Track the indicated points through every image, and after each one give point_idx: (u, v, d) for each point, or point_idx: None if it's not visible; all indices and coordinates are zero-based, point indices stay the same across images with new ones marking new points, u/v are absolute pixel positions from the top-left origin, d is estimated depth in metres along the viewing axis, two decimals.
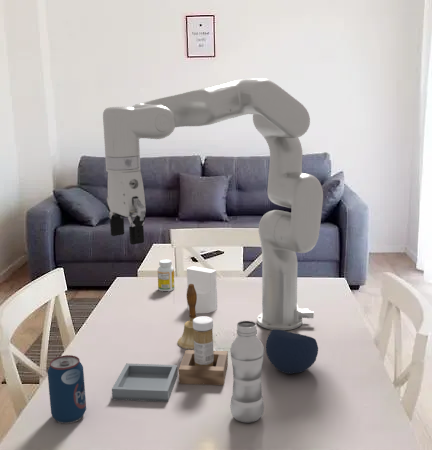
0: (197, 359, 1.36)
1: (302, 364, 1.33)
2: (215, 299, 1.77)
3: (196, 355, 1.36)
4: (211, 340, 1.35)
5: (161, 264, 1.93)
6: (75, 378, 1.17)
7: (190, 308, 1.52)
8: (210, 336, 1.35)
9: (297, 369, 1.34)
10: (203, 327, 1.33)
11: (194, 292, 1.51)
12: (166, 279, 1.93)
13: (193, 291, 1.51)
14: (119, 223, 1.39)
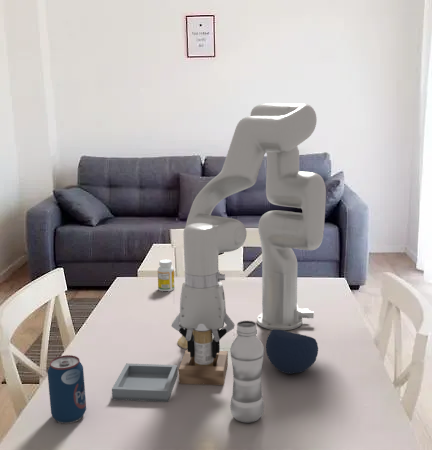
0: (197, 359, 1.36)
1: (302, 364, 1.33)
2: None
3: (196, 355, 1.36)
4: (211, 340, 1.35)
5: (161, 264, 1.93)
6: (75, 378, 1.17)
7: None
8: (210, 336, 1.35)
9: (297, 369, 1.34)
10: (203, 327, 1.33)
11: None
12: (166, 279, 1.93)
13: None
14: None
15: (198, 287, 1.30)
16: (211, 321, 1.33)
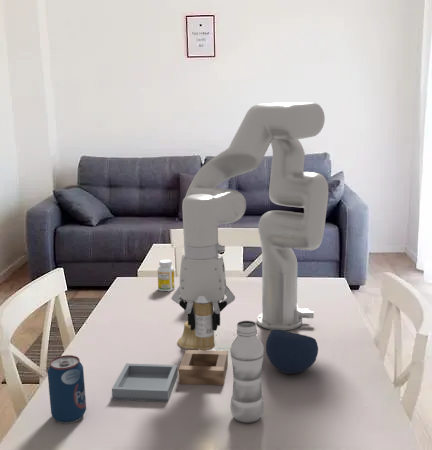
0: (198, 332, 1.35)
1: (302, 364, 1.33)
2: None
3: (196, 327, 1.35)
4: (211, 312, 1.34)
5: (161, 264, 1.93)
6: (75, 378, 1.17)
7: None
8: (210, 308, 1.34)
9: (297, 369, 1.34)
10: (204, 299, 1.32)
11: None
12: (166, 279, 1.93)
13: None
14: None
15: (198, 258, 1.28)
16: (211, 293, 1.32)
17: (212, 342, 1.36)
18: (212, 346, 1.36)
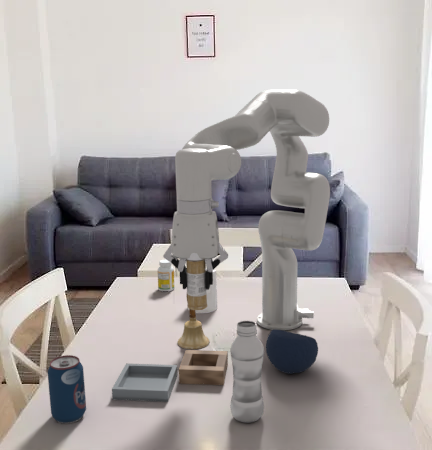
0: (190, 291, 1.31)
1: (302, 364, 1.33)
2: (215, 299, 1.77)
3: (188, 286, 1.32)
4: (204, 271, 1.31)
5: (161, 264, 1.93)
6: (75, 378, 1.17)
7: None
8: (203, 266, 1.31)
9: (297, 369, 1.34)
10: (196, 256, 1.29)
11: None
12: (166, 279, 1.93)
13: None
14: None
15: (190, 213, 1.25)
16: (204, 250, 1.29)
17: (204, 302, 1.33)
18: (204, 306, 1.33)
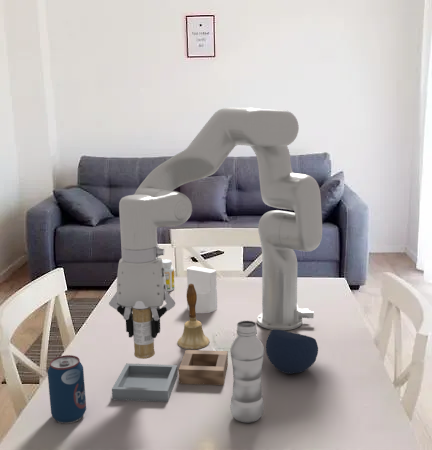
0: (136, 339, 1.29)
1: (302, 364, 1.33)
2: (215, 299, 1.77)
3: (134, 334, 1.29)
4: (150, 319, 1.28)
5: None
6: (75, 378, 1.17)
7: (190, 308, 1.52)
8: (149, 315, 1.28)
9: (297, 369, 1.34)
10: (141, 304, 1.26)
11: (194, 292, 1.51)
12: (166, 279, 1.93)
13: (193, 291, 1.51)
14: None
15: (134, 262, 1.23)
16: (149, 298, 1.26)
17: (151, 350, 1.30)
18: (151, 354, 1.30)
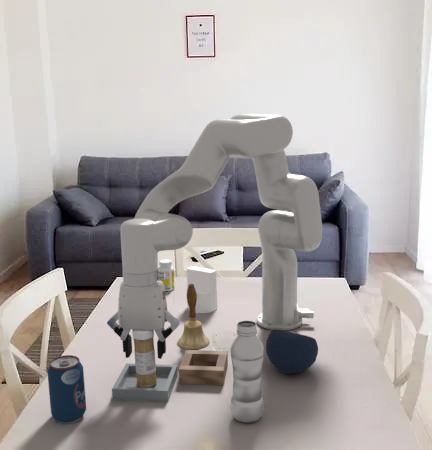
0: (138, 369, 1.30)
1: (302, 364, 1.33)
2: (215, 299, 1.77)
3: (137, 364, 1.30)
4: (152, 349, 1.30)
5: (161, 264, 1.93)
6: (75, 378, 1.17)
7: (190, 308, 1.52)
8: (151, 345, 1.29)
9: (297, 369, 1.34)
10: (143, 336, 1.28)
11: (194, 292, 1.51)
12: (166, 279, 1.93)
13: (193, 291, 1.51)
14: (130, 342, 1.31)
15: (135, 286, 1.24)
16: (150, 321, 1.27)
17: (153, 379, 1.31)
18: (153, 383, 1.31)
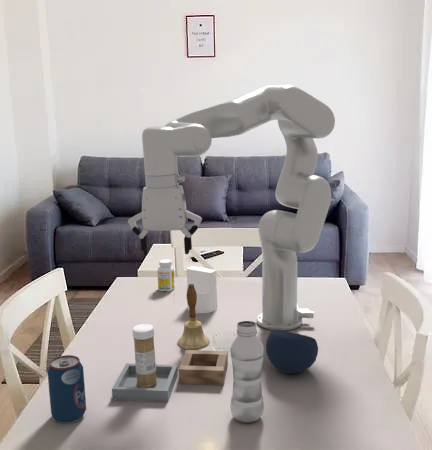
0: (138, 369, 1.30)
1: (302, 364, 1.33)
2: (215, 299, 1.77)
3: (137, 364, 1.30)
4: (152, 349, 1.30)
5: (161, 264, 1.93)
6: (75, 378, 1.17)
7: (190, 308, 1.52)
8: (151, 345, 1.29)
9: (297, 369, 1.34)
10: (143, 335, 1.28)
11: (194, 292, 1.51)
12: (166, 279, 1.93)
13: (193, 291, 1.51)
14: (147, 241, 1.41)
15: (158, 187, 1.34)
16: (172, 222, 1.37)
17: (153, 379, 1.31)
18: (153, 383, 1.31)
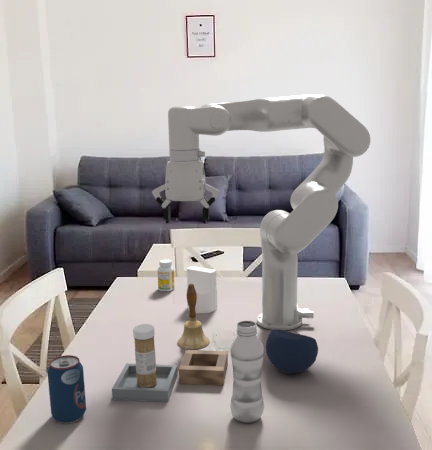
0: (138, 369, 1.30)
1: (302, 364, 1.33)
2: (215, 299, 1.77)
3: (137, 364, 1.30)
4: (152, 349, 1.30)
5: (161, 264, 1.93)
6: (75, 378, 1.17)
7: (190, 308, 1.52)
8: (151, 345, 1.29)
9: (297, 369, 1.34)
10: (143, 335, 1.28)
11: (194, 292, 1.51)
12: (166, 279, 1.93)
13: (193, 291, 1.51)
14: (169, 211, 1.56)
15: (181, 160, 1.48)
16: (192, 193, 1.51)
17: (153, 379, 1.31)
18: (153, 383, 1.31)
